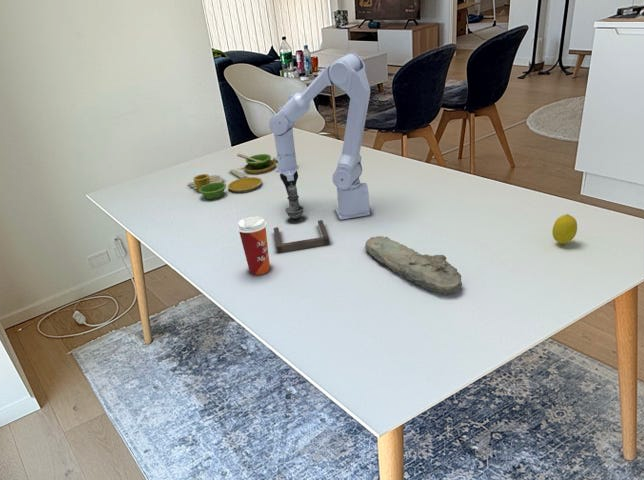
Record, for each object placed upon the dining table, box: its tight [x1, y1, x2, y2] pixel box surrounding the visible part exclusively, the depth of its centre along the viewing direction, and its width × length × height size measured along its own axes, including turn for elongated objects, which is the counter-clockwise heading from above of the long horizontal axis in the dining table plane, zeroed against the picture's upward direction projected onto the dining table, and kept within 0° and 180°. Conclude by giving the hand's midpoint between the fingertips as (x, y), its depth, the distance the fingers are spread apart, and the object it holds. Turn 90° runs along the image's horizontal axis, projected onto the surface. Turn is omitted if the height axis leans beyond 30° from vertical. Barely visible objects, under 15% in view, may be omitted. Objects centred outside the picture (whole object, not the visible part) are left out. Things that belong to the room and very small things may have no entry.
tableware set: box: [188, 152, 278, 200], centre depth 214 cm, size 41×28×6 cm
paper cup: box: [236, 216, 271, 276], centre depth 150 cm, size 8×8×14 cm
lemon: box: [551, 213, 578, 246], centre depth 141 cm, size 6×6×8 cm
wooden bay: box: [273, 219, 330, 254], centre depth 166 cm, size 15×14×2 cm
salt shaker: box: [285, 183, 305, 224], centre depth 175 cm, size 6×6×12 cm
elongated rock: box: [364, 235, 463, 295], centre depth 142 cm, size 35×5×10 cm
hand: (291, 195), depth 182 cm, fingers closed
